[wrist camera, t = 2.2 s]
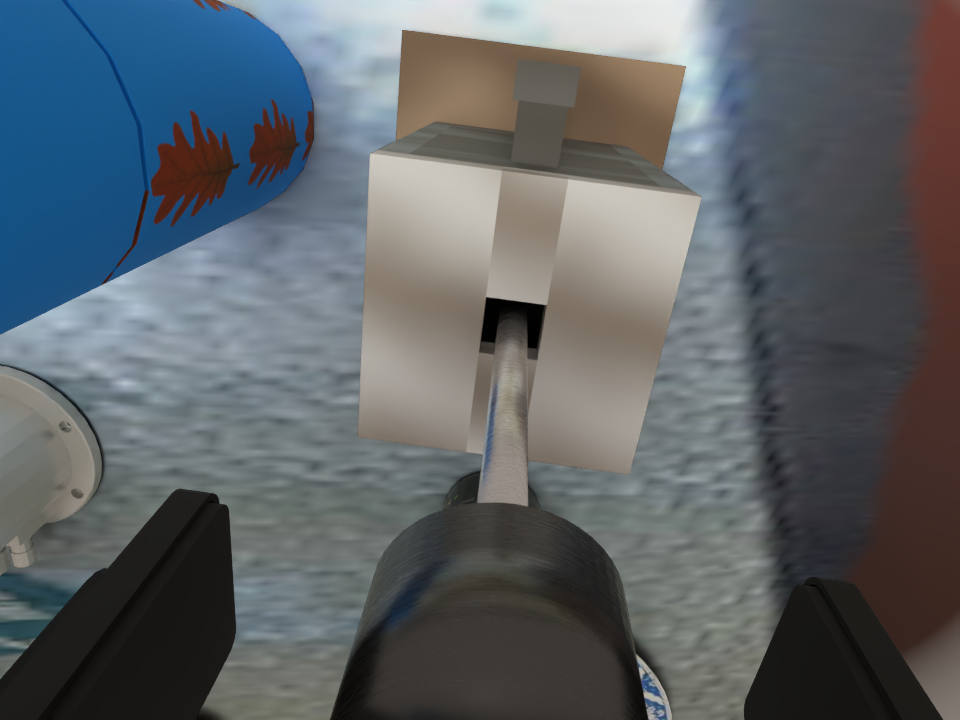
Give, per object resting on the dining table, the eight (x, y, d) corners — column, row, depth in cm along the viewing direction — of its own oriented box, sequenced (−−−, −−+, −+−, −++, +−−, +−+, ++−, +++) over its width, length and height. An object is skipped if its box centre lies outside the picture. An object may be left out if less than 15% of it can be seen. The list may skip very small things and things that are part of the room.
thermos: (334, 34, 33) (-112, -66, 10) (302, 232, 37) (-57, 480, 14) (126, -30, 32) (-861, -294, 9) (119, 178, 36) (-561, 348, 14)
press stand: (608, 380, 40) (658, 566, 25) (387, 350, 40) (304, 517, 25) (679, 66, 32) (813, 57, 17) (407, 31, 32) (304, -8, 17)
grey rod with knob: (555, 331, 27) (622, 923, 8) (461, 319, 27) (312, 877, 8) (571, 239, 25) (705, 714, 6) (472, 226, 25) (315, 658, 6)
